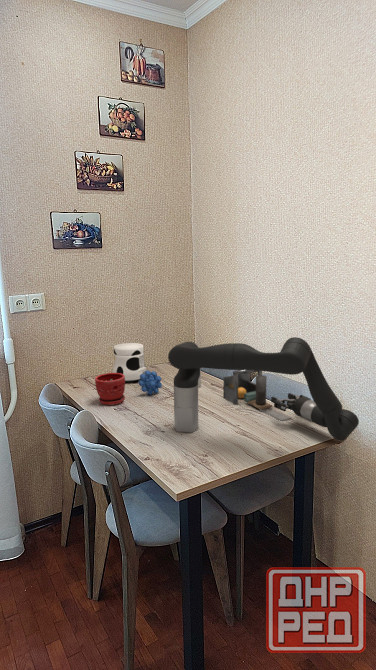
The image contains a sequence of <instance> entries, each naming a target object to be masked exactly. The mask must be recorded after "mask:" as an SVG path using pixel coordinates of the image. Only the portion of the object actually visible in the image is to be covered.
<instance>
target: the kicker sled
mask: <svg viewBox="0 0 376 670" xmlns="http://www.w3.org/2000/svg"><path fill="white" fill-rule="evenodd" d="M257 375H258V374H257ZM257 375H256V376H255V384H256V391H254V392H249V393H244V398H243V402H244V403H247V404H249V405H251V406H252V407H255V408H257V409H259V410H260V409H261V410H262V409H266V408H273V405H272V404H270V403H268V402H267V379H268V378H267V376H266V375H263V374H262V375H258V376H257Z"/></svg>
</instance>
